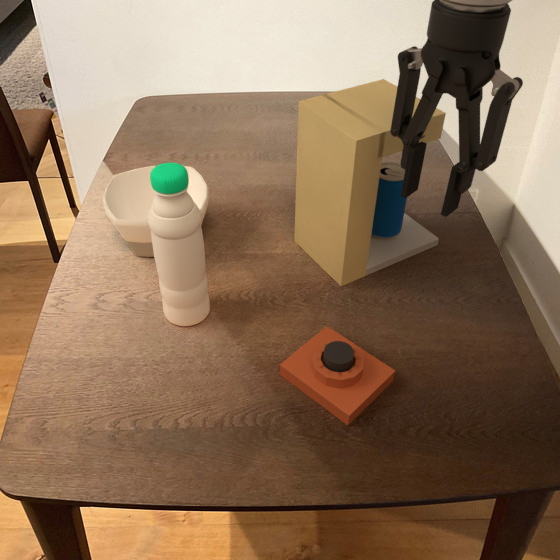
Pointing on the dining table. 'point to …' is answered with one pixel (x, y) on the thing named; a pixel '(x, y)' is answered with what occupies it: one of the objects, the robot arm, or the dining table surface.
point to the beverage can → (389, 201)
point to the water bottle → (178, 246)
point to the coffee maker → (351, 181)
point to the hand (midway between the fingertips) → (429, 201)
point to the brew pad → (337, 377)
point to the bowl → (143, 205)
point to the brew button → (338, 356)
